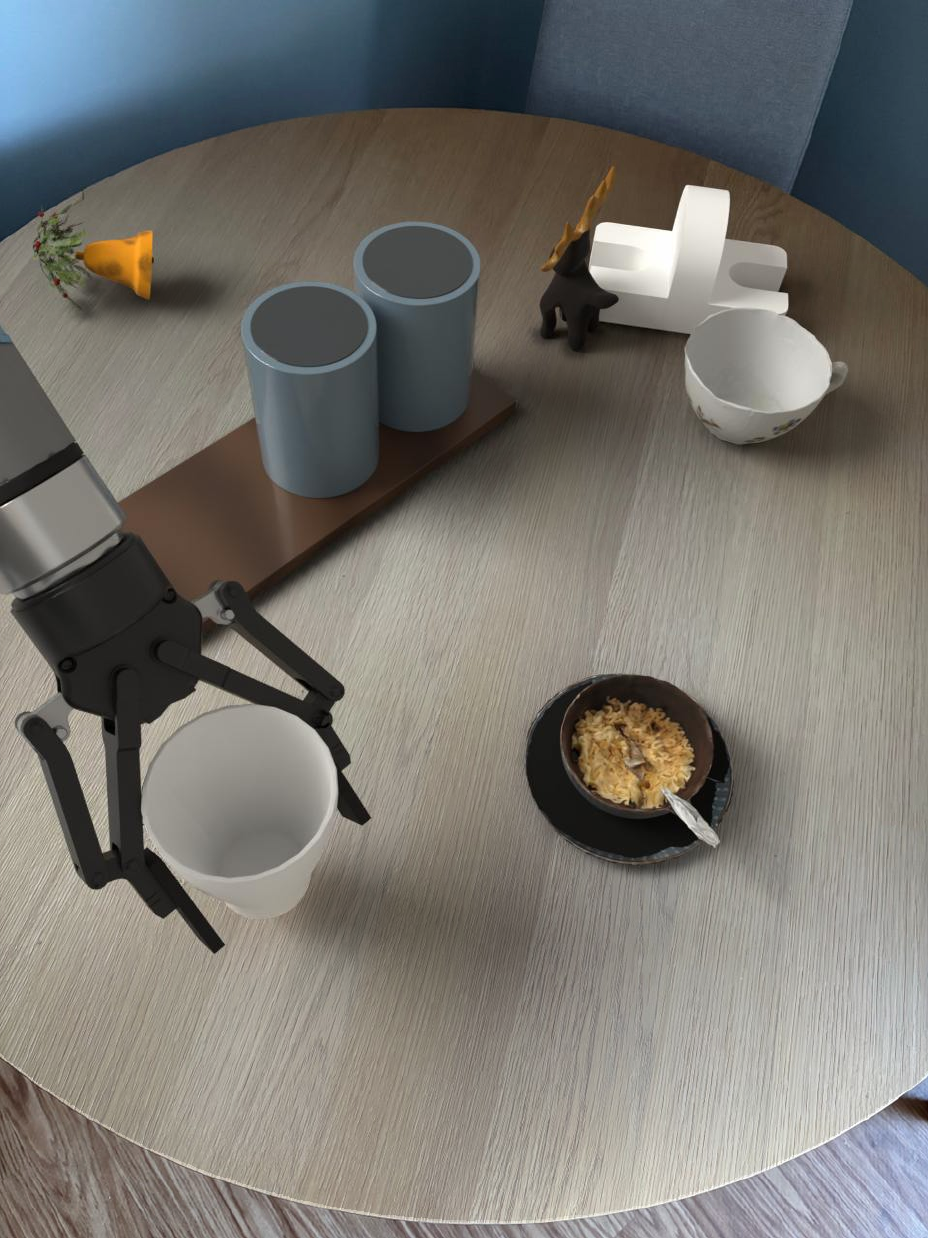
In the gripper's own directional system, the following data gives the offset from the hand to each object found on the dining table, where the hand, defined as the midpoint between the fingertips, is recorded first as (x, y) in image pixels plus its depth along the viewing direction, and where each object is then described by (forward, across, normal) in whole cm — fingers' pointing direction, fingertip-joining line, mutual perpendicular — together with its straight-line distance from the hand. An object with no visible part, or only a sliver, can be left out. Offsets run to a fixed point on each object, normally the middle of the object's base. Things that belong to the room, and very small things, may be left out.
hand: (287, 877), depth 62 cm
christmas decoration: (-33, -28, -46) cm, 63 cm away
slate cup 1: (-16, -27, -25) cm, 40 cm away
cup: (+2, 0, -6) cm, 6 cm away
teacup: (+1, -59, -11) cm, 60 cm away
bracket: (-10, -68, -21) cm, 72 cm away
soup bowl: (+12, -24, 0) cm, 27 cm away
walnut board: (-15, -26, -26) cm, 39 cm away
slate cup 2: (-16, -38, -25) cm, 48 cm away
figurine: (-12, -55, -24) cm, 61 cm away
